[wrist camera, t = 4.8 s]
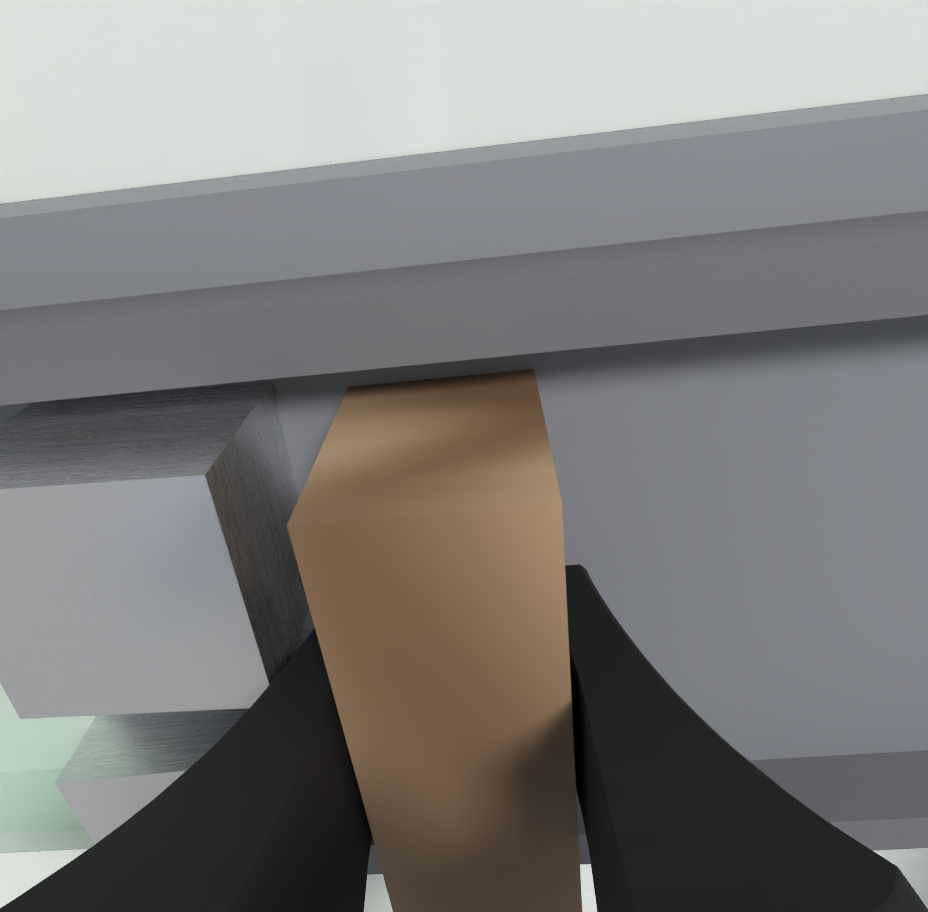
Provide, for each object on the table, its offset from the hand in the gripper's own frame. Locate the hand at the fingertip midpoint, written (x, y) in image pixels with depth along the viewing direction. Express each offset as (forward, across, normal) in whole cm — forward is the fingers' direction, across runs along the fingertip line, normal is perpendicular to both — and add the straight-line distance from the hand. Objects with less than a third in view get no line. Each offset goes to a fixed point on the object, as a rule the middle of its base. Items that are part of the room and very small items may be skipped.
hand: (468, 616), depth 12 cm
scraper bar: (+1, 0, 0) cm, 1 cm away
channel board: (+4, -2, 0) cm, 4 cm away
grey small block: (-1, +5, -3) cm, 6 cm away
